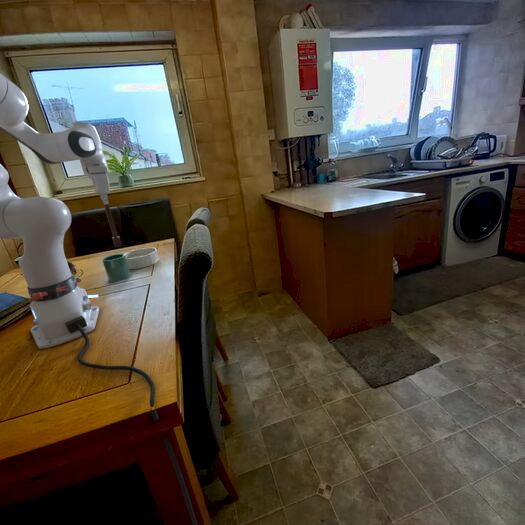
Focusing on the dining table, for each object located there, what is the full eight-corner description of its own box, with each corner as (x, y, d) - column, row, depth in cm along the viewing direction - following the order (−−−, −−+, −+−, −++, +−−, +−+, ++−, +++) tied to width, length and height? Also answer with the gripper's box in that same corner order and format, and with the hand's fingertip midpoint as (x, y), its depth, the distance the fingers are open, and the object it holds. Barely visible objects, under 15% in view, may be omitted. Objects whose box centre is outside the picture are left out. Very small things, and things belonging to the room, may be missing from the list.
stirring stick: (122, 245, 120) (107, 194, 112) (115, 247, 118) (100, 194, 111) (121, 244, 122) (106, 193, 114) (114, 246, 121) (99, 194, 113)
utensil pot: (132, 278, 119) (126, 256, 116) (110, 284, 115) (103, 262, 112) (128, 273, 126) (122, 252, 123) (108, 279, 122) (101, 257, 118)
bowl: (163, 263, 134) (160, 251, 132) (128, 273, 126) (124, 261, 124) (154, 256, 147) (151, 245, 145) (122, 265, 138) (118, 253, 136)
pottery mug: (84, 271, 137) (78, 260, 131) (74, 287, 130) (67, 276, 124) (58, 268, 136) (51, 257, 130) (47, 284, 129) (39, 272, 123)
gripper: (84, 170, 116) (95, 204, 121) (88, 168, 100) (99, 206, 104) (101, 169, 119) (111, 201, 124) (107, 166, 103) (118, 204, 108)
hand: (106, 204), depth 114 cm, fingers closed on stirring stick, 2 cm apart
